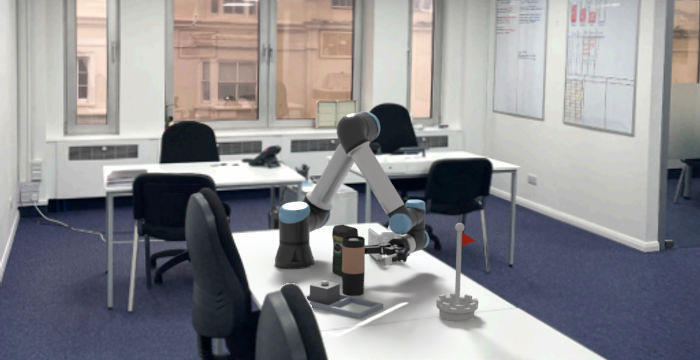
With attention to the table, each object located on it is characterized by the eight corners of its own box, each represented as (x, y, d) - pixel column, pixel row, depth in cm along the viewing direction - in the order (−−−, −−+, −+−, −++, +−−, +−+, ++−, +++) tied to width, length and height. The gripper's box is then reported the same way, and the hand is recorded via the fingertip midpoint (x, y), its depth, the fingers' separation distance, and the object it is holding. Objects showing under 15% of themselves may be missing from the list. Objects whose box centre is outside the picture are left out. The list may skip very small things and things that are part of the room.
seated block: (309, 302, 265) (309, 282, 264) (322, 297, 271) (322, 277, 270) (327, 306, 261) (327, 285, 260) (339, 301, 267) (339, 280, 266)
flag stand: (431, 319, 254) (434, 225, 249) (441, 306, 266) (444, 217, 261) (472, 324, 249) (476, 229, 244) (481, 311, 261) (485, 220, 256)
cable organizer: (402, 261, 321) (403, 232, 319) (376, 262, 319) (377, 233, 317) (391, 251, 335) (391, 224, 334) (366, 253, 333) (366, 225, 331)
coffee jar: (361, 275, 300) (362, 226, 297) (344, 279, 295) (345, 229, 292) (344, 269, 308) (345, 221, 305) (328, 273, 303) (328, 224, 300)
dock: (296, 306, 265) (296, 298, 264) (320, 296, 275) (321, 289, 275) (360, 321, 250) (360, 314, 250) (383, 310, 261) (383, 303, 261)
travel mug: (341, 292, 280) (341, 235, 277) (363, 291, 281) (363, 235, 277) (342, 299, 273) (343, 241, 269) (365, 298, 273) (366, 240, 270)
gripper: (430, 261, 293) (399, 274, 276) (372, 251, 307) (340, 263, 290) (431, 241, 292) (400, 253, 275) (373, 231, 306) (340, 242, 289)
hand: (369, 258), depth 282 cm, fingers open, 13 cm apart
